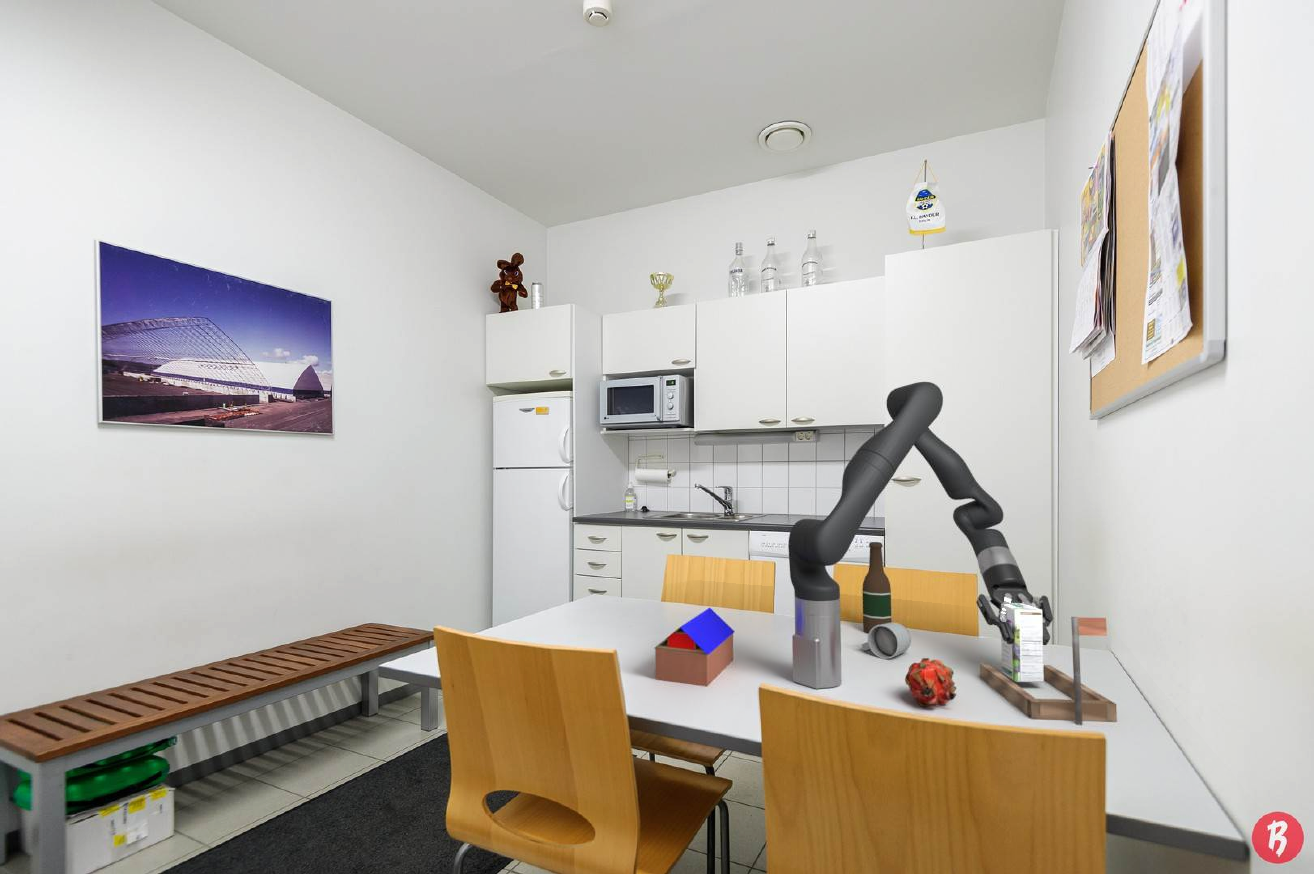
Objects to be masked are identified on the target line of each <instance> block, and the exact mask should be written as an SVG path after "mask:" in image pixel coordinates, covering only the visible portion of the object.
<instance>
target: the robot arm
mask: <svg viewBox="0 0 1314 874" xmlns="http://www.w3.org/2000/svg"><path fill="white" fill-rule="evenodd" d="M943 404H944V396H943V392H942V390H941V388H940V387H939V386H938V385H937V384H935V383H934V382H930V381H917V382H914V383H910V384H907V385H903V386H899V387H897V388H894V389H892V390H891V391H890V392H889V394H888V396H887V399H886V403H885V405H886V410H887V412H888V414H889V416H890V418H891V419H892V420H891V422H890V423H888V424H887V425H885V426H884V427H883V428H882V429H880V430H879V431H878V432H877V433H875V434H874V435H873V436H871V437H870V438H868V439H867V440H866V441H864V443H863V444H862V445H861V446H859V448H858V449H857V450H856V451H855V453H854V455H853V456H852V457H851V459H850V460H849V462H848V463H847V464H846V466H845V468H844V471H843V474H842V479H841V484H842V485H841V494H840V498H839V500H838V502H837V503H836V505H835V506H834V508H833V509H832V510H831V512H830V513H829V514H828V516H826V517H825V518H824V519H813V518H803V519H800V520H798V521H796V522H795V523H794V524H793V526H792V527H791V529H790V532H789V537H788V543H787V544H788V560H789V562H788V563H789V577H790V582H791V585H792V587H793V590H794V591H793V592H794V634H793V635H792V636H791V637H792V639H791V640H792V641H791V642H792V646H791V647H792V682H795V683H797V684H801V685H803V686H807V687H810V688H813V689H817V690H819V689H821V688H822V689H823V688H835V687H838V686H840V685H841V684H842V682H843V681H842V640H841V639H842V638H841V637H842V635H841V632H842V631H841V591H840V589H841V588H840V584H839V583H838V582H837V581H836V580H835V579H833V578H832V577H831V575H830V574H829V573H828V571H827V568H826V567H827V566H828V567H830V566H833V565H836V564H838V563H839V562H840V561H841V560H842V559H843V558H844V556H845V555H846V554H847V552H848V550H849V549H850V547H851V544H852V543H853V541H854V539H855V537H856V535H857V533H858V532H859V529H860V528H861V525H862V524H863V522H864V520H865V518H866V517H867V515H868V513H869V512H870V510H871V509H872V507H873V505H874V504H875V503H876V501H877V500H878V498H879V497H880V495H881V494H882V492H883V491H884V490H885V488H886V487H887V485H888V484H889V482H890V481H891V480H892V478H893V477H894V475H895V473H896V471H898V468H899V467H900V465H901V464H902V463H903V461H904V459H905V458H906V457H907V455H908V454H909V452H911V450H912V448H913V447H915V449H916V450H917V451H918V452H919V454H920V455H921V456H922V457H923V458H924V460H925V461H926V463H928V465H929V466H930V468H931V470H932V471H933V473H934V474H935V476H936V477H937V479H938V481H939V482H940V485H941V486H942V488H943V490H944V491H945V493H946V495H947V497H949V499H951V500H954V501H960V500H961V501H962V500H968V499H969V500H972V501H969V502H967V503H964V504H961V505H959V506H957V507H956V508H954V511H953V514H952V519H953V522H954V524H955V525H956V527H957V528H958V529H959V530H960V532H962V534H963V535H964V536H965V537H966V538H967V540H968V541H969V543H970V545H971V547H972V549H973V552H974V555H975V557H976V560H977V564H978V569H979V573H980V574H981V578H982V579H983V583H984V585H985V587H986V591H987V593H988V595H985V594H983V593H980V594H979V595H978V596H977V597H978V598H977V600H976V605H977V607H978V609H979V610H980V613H981V614H982V617H983V618H984V620H985V622H986V624H987V625H988V626H996V627H997V628H998V629H999V632H1000V635H1002V638H1003V640H1004V641H1007V644H1012V643H1013V642H1014V636H1013V633H1012V631H1011V628H1010V625H1009V623H1006V621H1007V616H1006V609H1005V607H1004V605H1005V604H1010V603H1021V604H1025V605H1030V606H1033V607H1035V606H1036V607H1035V608H1038V609H1042V622H1043V646H1047V645H1048V643H1049V641H1050V640H1051V635H1050V633H1049V630H1048V627H1049V626H1050V625H1051V623H1052V621H1053V620H1054V616H1053V613H1052V609H1051V606H1050V605H1051V604H1050V601H1049V598H1048V596H1046V595H1041V597H1038V596H1033V595H1032V594H1031V593H1030V592H1029V590H1028V587H1027V584H1026V582H1025V578H1024V576H1023V573H1022V572H1021V569H1020V568H1019V565H1018V563H1017V560H1016V558H1015V557H1014V555H1013V552H1011V549H1010V547H1009V545H1008V543H1007V540H1006V537H1005V536H1004V534H1003V532H1001V531H1000V530H999V529H995V528H993V527H994V526H998V525H1000V524H1001V523H1002V521H1003V520H1004V512H1003V508H1002V506H1001V505H1000V504H999V503H998V502H997V500H995V498H993V497H992V496H991V495H990V494H989V493H988V492H987V491H986V490H985V489H983V487H982V486H981V485H980V484H979V482H977V480H976V478H975V477H974V475H973V473H972V471H971V470H970V468H969V466H968V465H967V463H966V461H965V460H964V459H963V458H962V456H960V454H958V452H957V451H955V450H954V449H953V448H952V447H951V446H949V445H948V444H947V443H946V442H944V441H943V440H941V439H940V438H939V436H937V435H936V434H935V433H934V432H933V431H932V430H931V429H930V428H929V427H930V426H931V425H932V424H933V422H934V421H935V420H936V419H937V418H938V417H939V415H940V413H941V411H942V409H943ZM991 604H992V605H994V607H996V608H997V609H998V613H997V614H998V615H996V614H995V613H996V612H995V611H994V610H993V608H992V606H991ZM1001 604H1003V606H1002V609H1001ZM1033 604H1034V605H1035V606H1034V605H1033Z"/></svg>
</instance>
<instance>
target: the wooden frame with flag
mask: <svg viewBox="0 0 1314 874" xmlns="http://www.w3.org/2000/svg"><path fill="white" fill-rule="evenodd" d="M1070 619H1071V622H1070V623H1071V645H1072V671H1073V677H1072V676H1069V675H1067V674H1066V673H1064V672H1062V670H1059V669H1057V668H1056V667H1054V666H1052V665H1051V664H1043V668H1044V669H1043V672H1044V682H1046V683H1048V685H1051V686H1052V687H1054V688H1055V689H1056V690H1058V691H1060V692H1061V693H1063V694H1065V695H1066V696H1068V697H1069V698H1071V699H1061V698H1060V699H1059V698H1058V699H1057V698H1035V697H1034V696H1033V695H1031V694H1030V693H1028V692H1027V691H1026V690H1024V689H1023V688H1022V687H1020V686H1019V685H1018V684H1016V683H1015V682H1013V681H1012V679H1009V677H1008V676H1006V675H1005V674H1003V673H1002V672H1000V671H998V670H997V669H995V667H993V666H992V665H990V664H989V663H987V662H986V663H984V662H983V663H982V662H979V677H980V679H981V680H983V682H985V684H987V685H989V686H990V687H991V688H992V689H993V690H995V692H998V694H999V695H1001V696H1002V697H1003V698H1005V699H1006V700H1007V701H1009V702H1010V703H1011V704H1012V705H1014V706H1015V707H1016V708H1017V709H1019V710H1020V711H1021V712H1022V713H1023V714H1025V715H1026V716H1028V717H1029V718H1030V719H1031V720H1048V721H1049V720H1052V721H1053V720H1056V721H1075V725H1078V724H1080V725H1079V726H1082V725H1083V722H1084V721H1085V722H1086V721H1087V722H1111V723H1113V722H1114V723H1116V722H1118V717H1117V716H1118V713H1117V703H1116V702H1113V701H1111V700H1110V699H1108V698H1106V697H1105V696H1104V695H1101V694H1100V693H1098V692H1096V691H1095V690H1093V689H1091V688H1090V687H1088V686H1086V685H1085V684H1083V683H1082V682H1081V679H1082V678H1081V676H1082V675H1081V657H1080V653H1081V652H1080V651H1081V650H1080V636H1086V637H1087V636H1088V637H1089V636H1091V637H1093V636H1096V637H1097V636H1098V637H1099V636H1100V637H1107V636H1108V633H1107V617H1081V616H1080V617H1079V616H1071V618H1070Z"/></svg>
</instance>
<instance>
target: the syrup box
mask: <svg viewBox="0 0 1314 874" xmlns="http://www.w3.org/2000/svg"><path fill="white" fill-rule="evenodd" d="M1002 606H1003V604H1001V609H1002ZM1033 606H1034V605H1033ZM1033 606H1030V605H1025V604H1021V603H1010V604H1005V605H1004V607H1005V609H1006V616H1007V621H1006V623H1009V625H1010V628H1011V631H1012V633H1013V636H1014V642H1013V643H1012V644H1007V641H1004V640H1003V638H1002V635H1001V634H1000V635H1001V637H1000V638H1001V639H1000V640H1001V674H1002V675H1004V676H1006V677H1007V678H1010V680H1013V681H1014V682H1016V683H1044V682H1045V681H1044V672H1043V669H1044V668H1043V665H1044V645H1043V622H1042V609H1038V608H1036V607H1035V606H1034V607H1033Z"/></svg>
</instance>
